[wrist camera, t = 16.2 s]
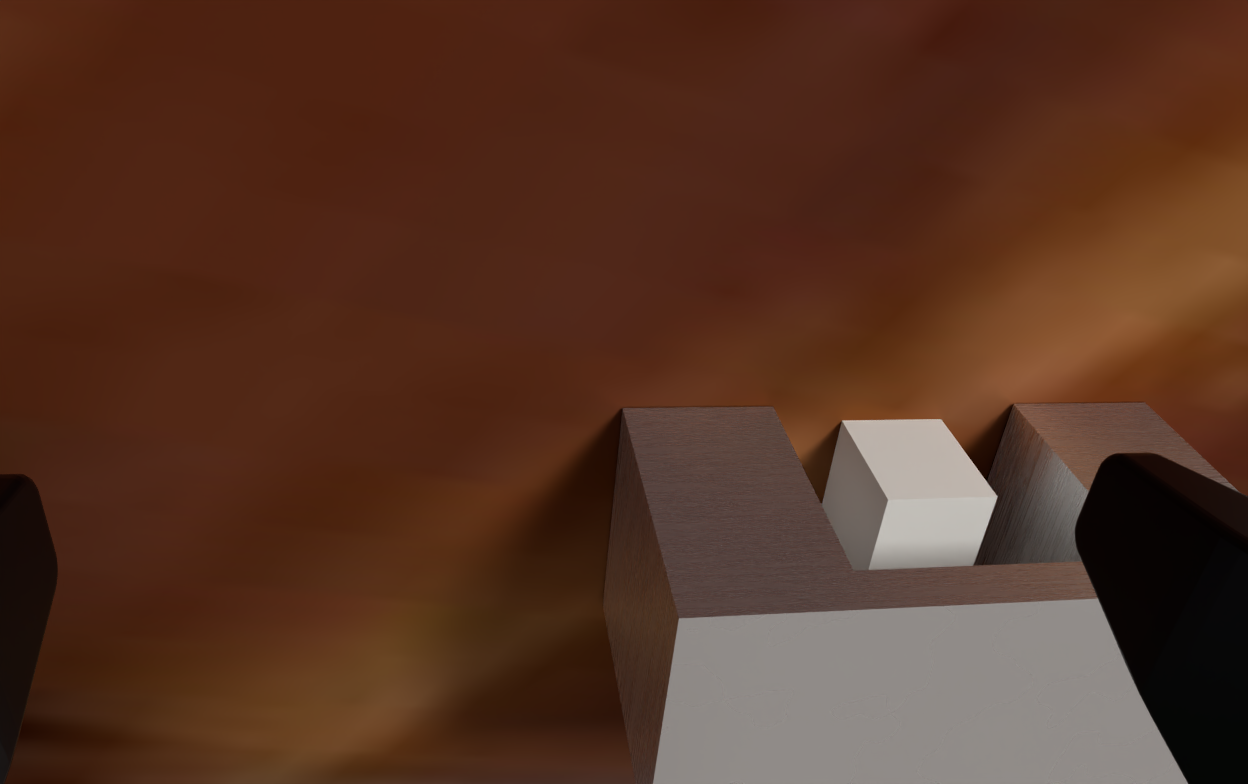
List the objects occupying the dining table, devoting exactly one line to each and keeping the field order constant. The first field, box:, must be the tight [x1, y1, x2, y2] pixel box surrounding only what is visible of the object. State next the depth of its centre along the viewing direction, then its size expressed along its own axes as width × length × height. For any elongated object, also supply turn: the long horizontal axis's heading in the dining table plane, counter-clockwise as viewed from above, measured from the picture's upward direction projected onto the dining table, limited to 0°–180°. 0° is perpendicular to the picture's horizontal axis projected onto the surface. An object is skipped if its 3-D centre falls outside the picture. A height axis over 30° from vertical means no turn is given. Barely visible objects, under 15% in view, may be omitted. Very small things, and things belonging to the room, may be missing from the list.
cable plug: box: [822, 419, 997, 570], centre depth 28 cm, size 20×4×4 cm, turn 175°
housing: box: [603, 403, 1237, 784], centre depth 23 cm, size 13×6×6 cm, turn 85°
